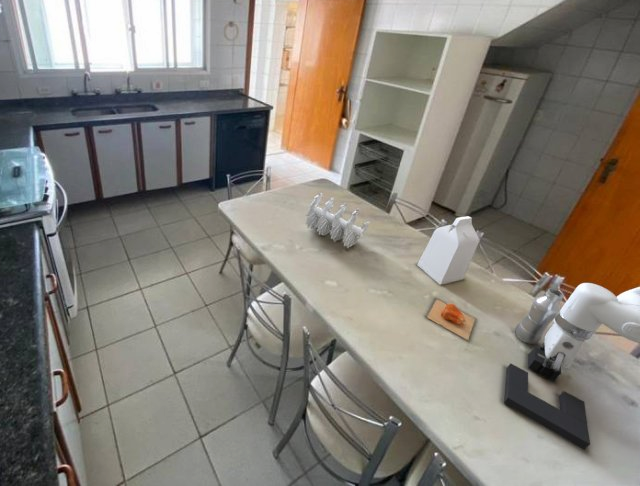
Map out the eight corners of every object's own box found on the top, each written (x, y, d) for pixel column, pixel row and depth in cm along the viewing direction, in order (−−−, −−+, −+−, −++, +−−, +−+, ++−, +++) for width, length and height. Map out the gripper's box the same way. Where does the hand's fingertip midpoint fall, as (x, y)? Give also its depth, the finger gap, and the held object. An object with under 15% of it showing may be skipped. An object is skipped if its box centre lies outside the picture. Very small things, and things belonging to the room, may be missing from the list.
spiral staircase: (350, 260, 141) (301, 232, 155) (370, 231, 149) (321, 207, 162) (353, 237, 128) (299, 209, 142) (374, 207, 135) (321, 183, 149)
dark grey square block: (553, 367, 97) (560, 358, 95) (554, 382, 93) (561, 373, 91) (528, 354, 100) (534, 345, 98) (527, 368, 96) (534, 359, 94)
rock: (467, 340, 103) (473, 331, 101) (426, 317, 111) (431, 308, 109) (475, 319, 111) (480, 310, 109) (436, 299, 119) (440, 290, 117)
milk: (439, 260, 139) (462, 208, 127) (463, 279, 129) (490, 224, 117) (417, 265, 135) (439, 211, 123) (440, 284, 126) (466, 228, 114)
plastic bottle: (540, 340, 105) (573, 295, 96) (532, 350, 102) (566, 304, 93) (517, 326, 110) (546, 281, 101) (509, 335, 106) (539, 289, 97)
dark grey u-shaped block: (579, 406, 87) (584, 401, 86) (584, 449, 78) (590, 444, 77) (506, 368, 96) (510, 362, 94) (503, 403, 86) (507, 397, 85)
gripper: (597, 354, 80) (559, 398, 88) (589, 313, 92) (556, 354, 100) (557, 336, 84) (525, 379, 92) (554, 299, 96) (526, 340, 105)
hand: (541, 366), depth 96 cm, fingers closed on dark grey square block, 6 cm apart
